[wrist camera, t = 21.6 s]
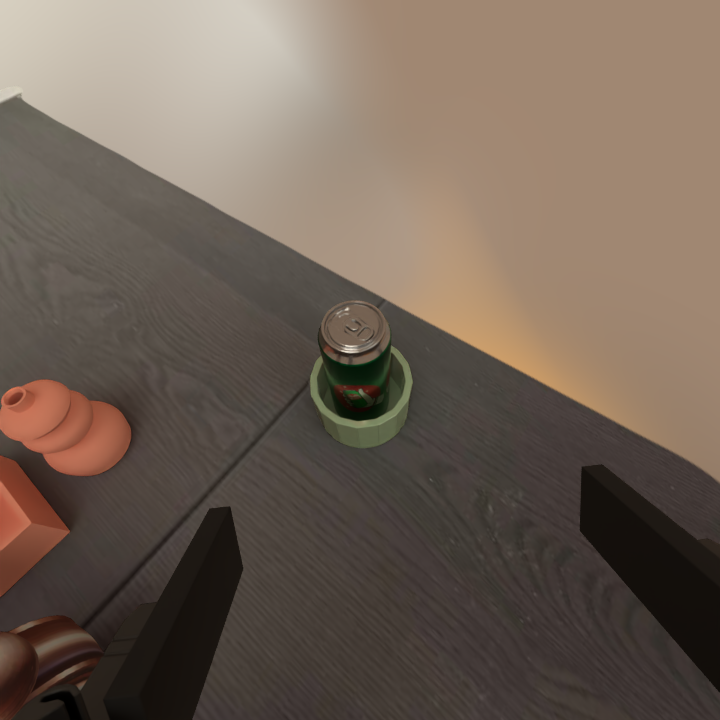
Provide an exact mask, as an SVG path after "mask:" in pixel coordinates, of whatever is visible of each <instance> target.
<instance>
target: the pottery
mask: <svg viewBox="0 0 720 720" xmlns="http://www.w3.org/2000/svg"><path fill="white" fill-rule="evenodd" d="M1 404H2V408H1V410H0V429H1V430H2V432H3V433H4V434H5V435H6V436H8V437H9V438H11V439H13V440H16V441H21V442H22V443H23V444H24V445H25V446H26V447H27V448H28V449H30V450H32V451H35V452H38V453H43V456H44V458H45V460H46V461H47V462H48V464H49V465H50V466H51V467H52V468H54V469H55V470H57V471H58V472H61V473H64V474H67V475H74V476H94V475H97V474H100V473H103V472H105V471H107V470H108V469H110V468H111V467H113V466H114V465H115V464H116V463H117V462H118V461H119V460H120V459H121V458H122V457H123V456H124V454H125V452H126V451H127V449H128V447H129V444H130V440H131V429H130V425H129V424H128V422H127V420H126V419H125V417H124V416H123V414H122V413H121V412H120V411H119V410H118V409H117V408H116V407H114V406H112V405H110V404H107V403H104V402H100V401H89V400H88V399H87V398H86V397H85V396H84V395H82V394H81V393H79V392H75V391H72V390H68V388H67V387H66V386H65V385H63V384H62V383H59V382H56V381H52V380H46V379H43V380H37V381H33V382H30V383H28V384H26V385H24V386H22V387H14V388H12V389H10V390H8V391H7V392H6V393H5V394H4V395H3V397H2V399H1ZM69 532H70V530H69V529H68V528H67V527H66V525H65V524H64V523H63V521H62V520H61V519H60V518H59V516H58V515H57V514H56V512H55V511H54V510H53V509H52V507H51V506H50V505H49V503H48V502H47V501H46V500H45V498H44V497H43V496H42V494H41V493H40V492H39V491H38V489H37V488H36V487H35V485H34V484H33V483H32V482H31V480H30V479H29V478H28V476H27V475H26V474H25V473H24V471H23V470H22V469H21V467H20V466H19V465H18V464H17V462H16V461H14V460H11V459H8V458H6V457H3V456H0V597H1V596H2V595H3V594H5V593H6V592H7V591H8V590H9V589H10V588H11V587H12V586H13V585H14V584H15V583H16V582H17V581H18V580H19V579H20V578H22V577H23V576H24V575H25V574H26V573H27V572H28V571H29V570H30V569H31V568H32V567H33V566H34V565H35V564H36V563H37V562H39V561H40V560H41V559H42V558H43V557H44V556H45V555H46V554H47V553H48V552H49V551H50V550H51V549H52V548H53V547H54V546H56V545H57V544H58V543H59V542H60V541H61V540H62V539H63V538H64V537H65V536H66V535H67V534H68V533H69Z"/></svg>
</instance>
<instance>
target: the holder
mask: <svg viewBox="0 0 720 720" xmlns="http://www.w3.org/2000/svg"><path fill="white" fill-rule="evenodd" d="M412 384H413V380H412V376H411V371H410V367H409V364H408V362H407V361H406V360H405V358H404V357H403V356H402V354H401V353H400V352H399V351H398V350H397V349H396V348H394V347H392V346H391V362H390V391H389V405H388V408H387V410H386V412H385V414H383V415H382V416H380V417H378V418H376V419H371V420H364V421H354V420H350V419H346V418H341V417H340V416H339V415H338V414H337V412H336V410H335V407H334V404H333V400H332V396H331V392H330V388H329V384H328V380H327V376H326V372H325V368H324V364H323V360H322V356H320V357H319V358H318V359H317V360H316V362H315V365H314V368H313V370H312V373H311V376H310V389H311V397H312V400H313V402H314V405H315V408H316V411H317V414H318V417H319V419H320V420H321V423H322V425H323V427H324V428H325V430H326V431H327V432H328V433H329V435H330V436H332V437H333V438H334V439H335V440H337V441H338V442H340V443H342V444H344V445H347V446H350V447H355V448H370V447H375V446H378V445H381V444H383V443H385V442H387V441H389V440H390V439H392V438H393V437H394V436H395V435H396V434H397V433H398V432H399V431H400V430H401V428H402V427H403V425H404V423H405V421H406V418H407V415H408V409H409V405H410V398H411V391H412Z"/></svg>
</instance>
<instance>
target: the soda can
mask: <svg viewBox="0 0 720 720" xmlns="http://www.w3.org/2000/svg"><path fill="white" fill-rule="evenodd" d="M318 343H319V348H320V352H321V356H322V360H323V364H324V368H325V372H326V376H327V380H328V384H329V388H330V392H331V396H332V400H333V404H334V407H335V410H336V412H337V414H338V415H339V416H340V417H341V418H346V419H350V420H354V421H364V420H371V419H376V418H378V417H380V416H382V415H383V414H385V412H386V410H387V408H388V405H389V391H390V362H391V329H390V326H389V324H388V322H387V320H386V319H385V318H384V316H383V314H382V313H381V311H380V310H379V309H378V308H376V307H375V306H374V305H372V304H370V303H367V302H364V301H356V300H354V301H346V302H343V303H340V304H338V305H336V306H334V307H333V308H331V309H330V310H329V311H328V312H327V313H326V315H325V317H324V319H323V321H322V324H321V326H320V328H319V332H318Z"/></svg>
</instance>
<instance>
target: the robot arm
mask: <svg viewBox="0 0 720 720" xmlns="http://www.w3.org/2000/svg"><path fill="white" fill-rule="evenodd" d="M580 532H581V533H582V534H583V535H584V536H585V537H586V538H587V540H588V541H589V542H590V543H591V544H592V545H593V547H594V548H595V549H596V550H597V551H598V552H599V553H600V555H601V556H602V557H603V558H604V559H605V560H606V562H607V563H608V564H609V565H610V566H611V567H612V569H613V570H614V571H615V572H616V573H617V574H618V575H619V577H620V578H621V579H622V580H623V581H624V582H625V584H626V585H627V586H628V587H629V588H630V589H631V590H632V592H633V593H634V594H635V595H636V596H637V597H638V599H639V600H640V601H641V602H642V603H643V604H644V606H645V607H646V608H647V609H648V610H649V611H650V612H651V614H652V615H653V616H654V617H655V618H656V619H657V621H658V622H659V623H660V624H661V625H662V626H663V627H664V629H665V630H666V631H667V632H668V633H669V634H670V636H671V637H672V638H673V639H674V640H675V641H676V643H677V644H678V645H679V646H680V647H681V648H682V649H683V651H684V652H685V653H686V654H687V655H688V656H689V658H690V659H691V660H692V661H693V662H694V663H695V665H696V666H697V667H698V668H699V669H700V670H701V671H702V673H703V674H704V675H705V676H706V677H707V678H708V680H709V681H710V682H711V683H712V684H713V685H714V686H715V688H716V689H717V690H718V691H719V692H720V545H719V544H717V543H715V542H713V541H711V540H709V539H700V540H697V539H695V538H694V537H693V536H692V535H690V534H689V533H688V532H687V531H685V530H684V529H683V528H682V527H680V526H679V525H678V524H676V523H675V522H674V521H673V520H671V519H670V518H669V517H668V516H666V515H665V514H664V513H663V512H661V511H660V510H659V509H658V508H656V507H655V506H654V505H653V504H651V503H650V502H649V501H648V500H646V499H645V498H644V497H643V496H641V495H640V494H639V493H637V492H636V491H635V490H634V489H632V488H631V487H630V486H629V485H627V484H626V483H625V482H624V481H622V480H621V479H620V478H619V477H617V476H616V475H615V474H614V473H612V472H611V471H610V470H609V469H607V468H606V467H605V466H604V465H602V464H601V465H592V466H584V467H582V473H581V507H580ZM242 571H243V565H242V560H241V555H240V551H239V546H238V541H237V536H236V532H235V527H234V522H233V517H232V513H231V508H230V506H229V507H220V508H211V509H209V511H208V512H207V514H206V516H205V518H204V520H203V521H202V523H201V525H200V527H199V529H198V530H197V532H196V534H195V536H194V537H193V539H192V541H191V543H190V545H189V546H188V548H187V550H186V552H185V554H184V555H183V557H182V559H181V561H180V562H179V564H178V566H177V568H176V570H175V571H174V573H173V575H172V577H171V579H170V580H169V582H168V584H167V586H166V587H165V589H164V591H163V593H162V595H161V596H160V598H159V600H158V602H156V603H147V604H141V605H140V606H139V607H138V608H137V609H136V610H134V611H133V612H132V613H131V614H130V615H129V616H128V617H127V618H126V619H125V620H124V622H123V623H122V625H121V627H120V628H119V630H118V631H117V633H116V635H115V636H114V638H113V642H111V643H110V644H109V646H108V647H107V649H106V651H105V652H104V656H103V657H101V659H100V660H99V662H98V663H97V665H96V667H95V668H94V670H93V671H92V673H91V675H90V676H89V678H88V680H87V681H86V683H85V684H84V686H83V688H82V689H81V691H80V690H79V689H78V687H77V686H76V685H71V684H63V685H58V686H54V687H52V688H50V689H48V690H46V691H44V692H42V693H40V694H39V695H37V696H36V697H35V698H33V699H32V700H31V701H29V702H28V703H27V704H25V705H24V706H23V707H22V708H21V709H20V711H19V712H18V713H17V714H16V715H15V716H14V717H13V718H12V719H11V720H192V718H193V715H194V713H195V710H196V707H197V704H198V701H199V698H200V695H201V692H202V689H203V686H204V683H205V680H206V677H207V674H208V671H209V668H210V665H211V663H212V660H213V657H214V654H215V651H216V648H217V645H218V642H219V639H220V636H221V633H222V630H223V627H224V624H225V621H226V618H227V615H228V613H229V610H230V607H231V604H232V601H233V598H234V595H235V592H236V589H237V586H238V583H239V580H240V577H241V574H242Z"/></svg>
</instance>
